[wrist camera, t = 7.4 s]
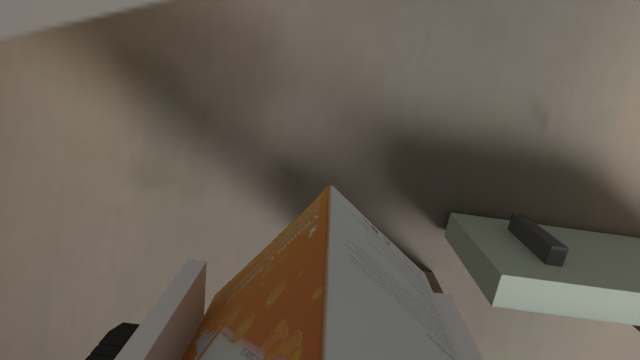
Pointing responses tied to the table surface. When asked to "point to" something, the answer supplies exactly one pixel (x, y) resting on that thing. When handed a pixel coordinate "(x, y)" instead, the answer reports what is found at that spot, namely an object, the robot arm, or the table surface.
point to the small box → (326, 297)
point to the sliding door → (550, 267)
